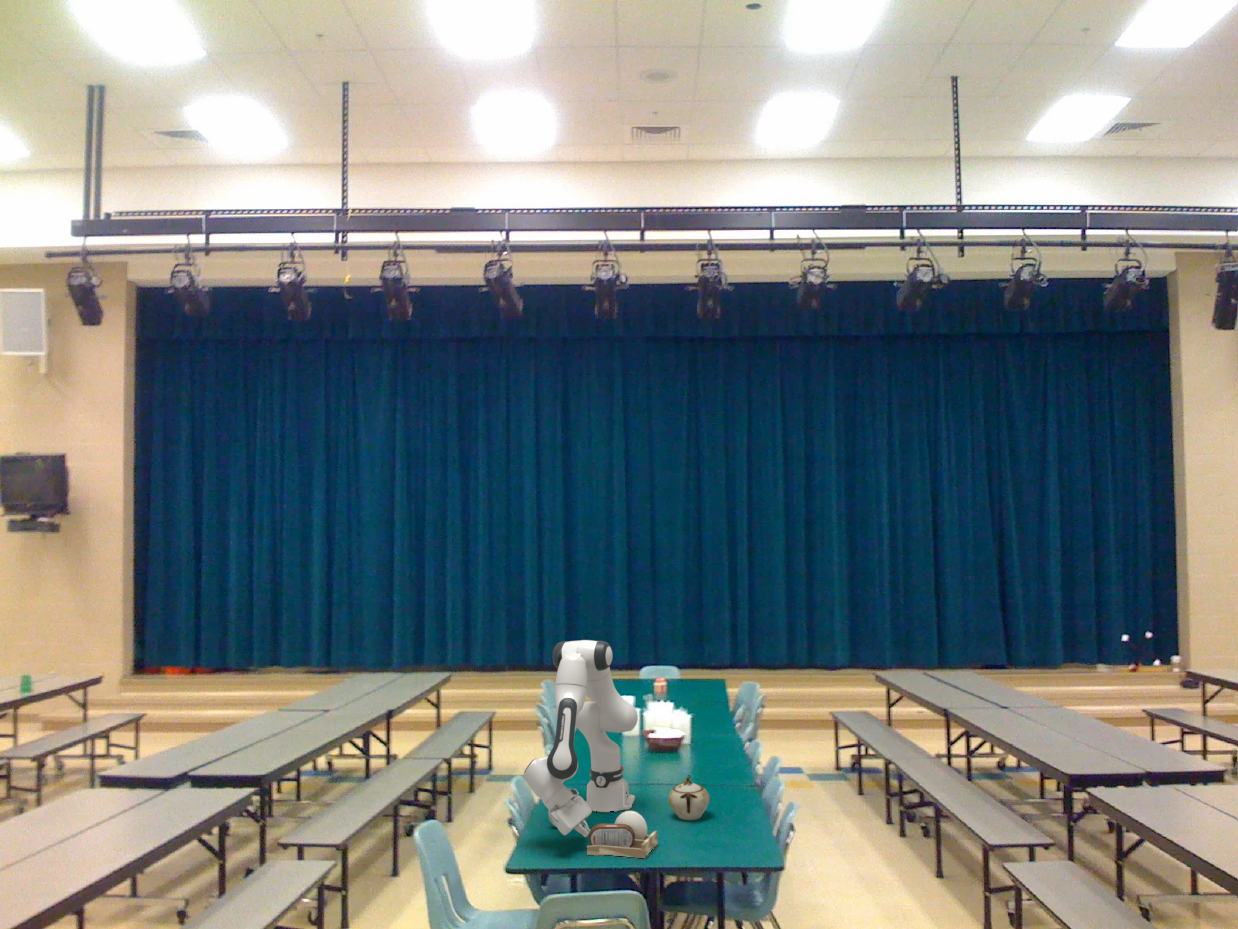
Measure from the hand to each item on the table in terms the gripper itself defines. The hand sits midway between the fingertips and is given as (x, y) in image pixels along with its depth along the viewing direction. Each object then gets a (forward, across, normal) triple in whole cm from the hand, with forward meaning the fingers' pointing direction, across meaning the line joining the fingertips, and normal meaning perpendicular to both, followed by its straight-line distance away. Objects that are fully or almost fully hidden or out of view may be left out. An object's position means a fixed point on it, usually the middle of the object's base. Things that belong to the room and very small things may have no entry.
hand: (588, 835), depth 312 cm
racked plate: (+12, +7, -6) cm, 15 cm away
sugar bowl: (+20, +41, -13) cm, 47 cm away
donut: (-8, +18, +15) cm, 25 cm away
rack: (+11, +2, -5) cm, 12 cm away
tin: (+9, 0, -2) cm, 9 cm away
